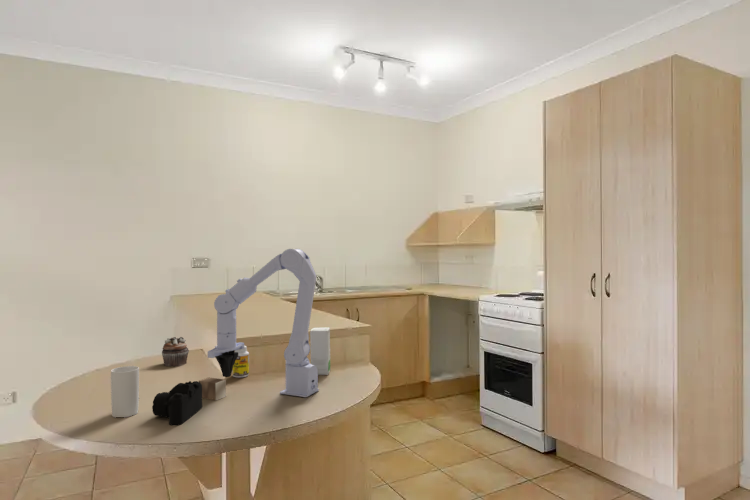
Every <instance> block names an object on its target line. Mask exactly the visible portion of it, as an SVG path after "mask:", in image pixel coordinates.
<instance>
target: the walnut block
mask: <svg viewBox="0 0 750 500" xmlns="http://www.w3.org/2000/svg"><path fill="white" fill-rule="evenodd" d="M198 382H200V383H201V384H202V399H206V400H211V401H218V400H220V399H223V398H225V397H227V380H226V379H223V378H222V379H221V378H214V377H206V378H203V379H200V380H198Z"/></svg>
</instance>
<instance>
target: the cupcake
mask: <svg viewBox="0 0 750 500" xmlns="http://www.w3.org/2000/svg"><path fill="white" fill-rule="evenodd" d="M185 342H186V339H185V338H184V337H182V336H180V337H179V338H178V337H177V338H176V336H173V337H171V338H166V339H165V340H164V344H163V347H162V348H161V349H162V350H161V356H162V360H163V365H164V366H165V367H180V366H184V365H186V364H187V361H188V355H189V351H190V350H189V348H188V347H187V343H185Z"/></svg>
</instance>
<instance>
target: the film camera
mask: <svg viewBox="0 0 750 500" xmlns="http://www.w3.org/2000/svg"><path fill="white" fill-rule="evenodd" d="M202 408H203V398H202V384H201V383H200V382H199V380H198V381H197V380H196V381H191V380H189V381H188V382H187V381H186V382H179V383H177V384H176V385H175V386H173V387H172V388H171V389H170V390H169V391H162V392H159V393H157V394H156V395H155V396H154V398H153V401H152V407H151V409H152V413H153V415H154V416H158V417H160V418H161V417H163V418H164V417H165V418H168V425H170V426H180V425H182V424H184V423H185V422H187V421H188V420H189V419H191V418H192V417H193V416H194V415H196V414H197V413H198V412H199V411H200V410H202Z"/></svg>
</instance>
